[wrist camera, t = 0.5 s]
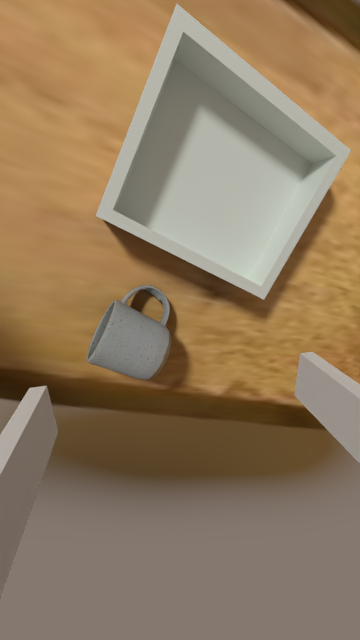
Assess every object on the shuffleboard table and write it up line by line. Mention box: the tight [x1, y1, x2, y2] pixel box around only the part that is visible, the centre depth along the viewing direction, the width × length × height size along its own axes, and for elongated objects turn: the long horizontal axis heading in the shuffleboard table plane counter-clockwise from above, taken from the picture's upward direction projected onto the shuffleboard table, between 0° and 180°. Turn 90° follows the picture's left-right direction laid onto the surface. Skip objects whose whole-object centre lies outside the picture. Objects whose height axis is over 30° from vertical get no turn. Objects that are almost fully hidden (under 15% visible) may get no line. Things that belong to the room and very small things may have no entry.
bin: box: [96, 4, 351, 299], centre depth 28 cm, size 20×17×5 cm
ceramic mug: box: [87, 285, 172, 380], centre depth 31 cm, size 11×8×8 cm
